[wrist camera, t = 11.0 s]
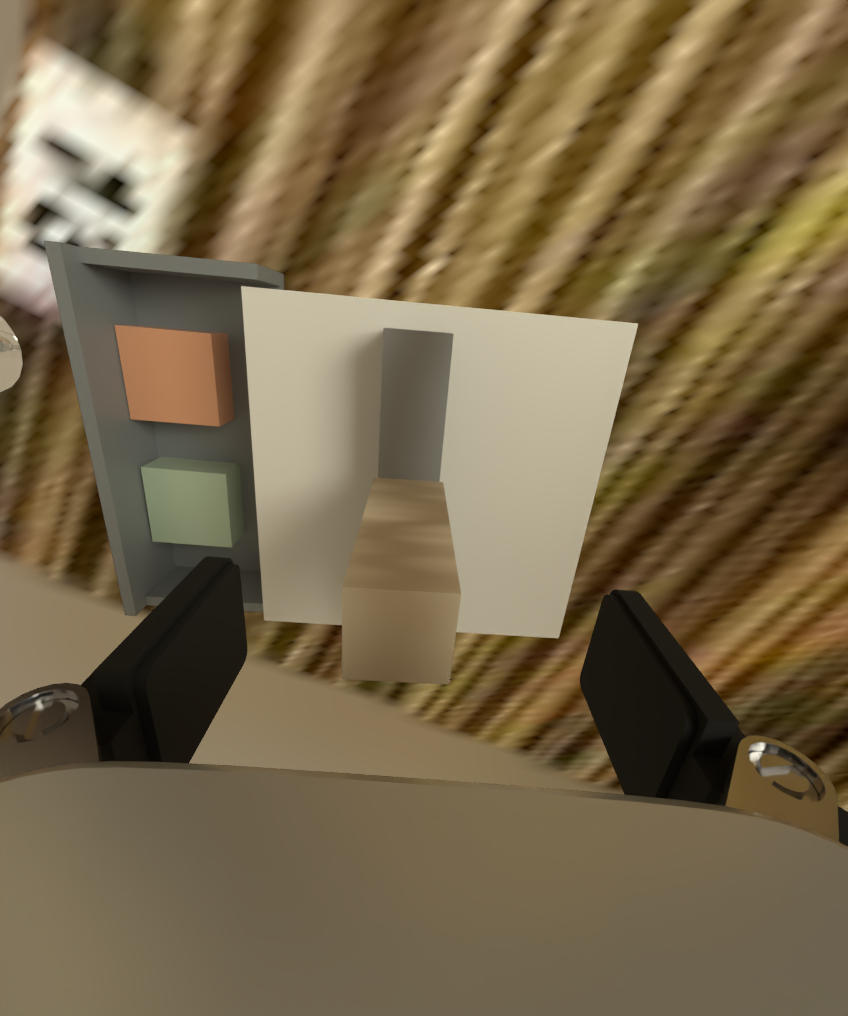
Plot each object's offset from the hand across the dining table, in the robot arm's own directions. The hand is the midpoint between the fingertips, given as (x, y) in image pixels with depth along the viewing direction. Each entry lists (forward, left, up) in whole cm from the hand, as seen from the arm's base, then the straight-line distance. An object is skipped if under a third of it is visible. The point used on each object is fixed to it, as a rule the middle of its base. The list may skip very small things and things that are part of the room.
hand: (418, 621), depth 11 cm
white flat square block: (0, 0, -16) cm, 16 cm away
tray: (+12, 0, -16) cm, 20 cm away
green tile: (+13, +4, -13) cm, 19 cm away
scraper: (0, 0, -10) cm, 10 cm away
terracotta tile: (+13, -4, -13) cm, 19 cm away
